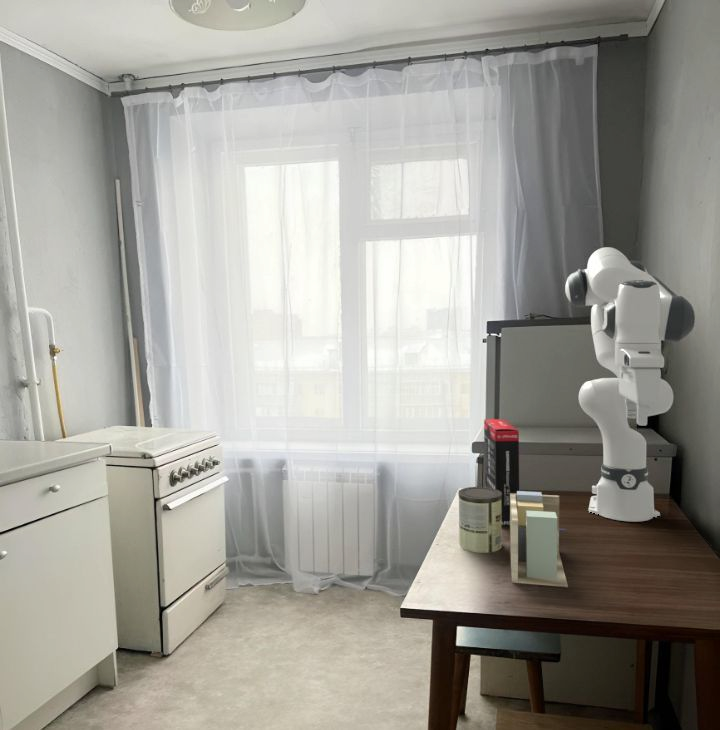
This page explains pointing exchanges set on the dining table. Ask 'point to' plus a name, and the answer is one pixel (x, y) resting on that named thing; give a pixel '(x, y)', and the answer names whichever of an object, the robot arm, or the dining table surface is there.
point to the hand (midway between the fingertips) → (636, 421)
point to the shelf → (517, 567)
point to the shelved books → (527, 504)
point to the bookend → (521, 543)
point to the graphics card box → (501, 461)
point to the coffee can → (480, 519)
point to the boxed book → (541, 544)
